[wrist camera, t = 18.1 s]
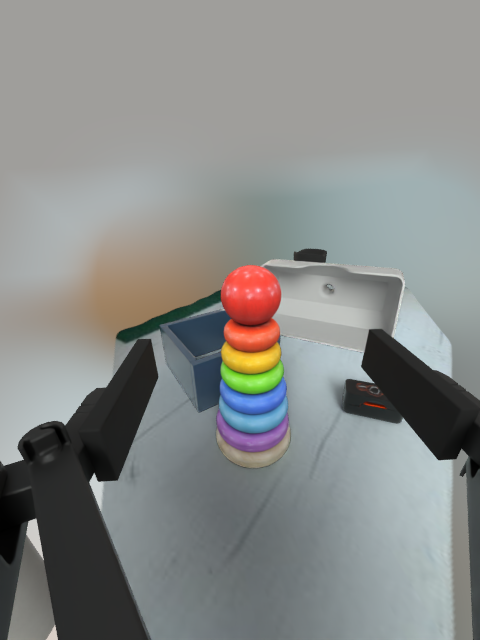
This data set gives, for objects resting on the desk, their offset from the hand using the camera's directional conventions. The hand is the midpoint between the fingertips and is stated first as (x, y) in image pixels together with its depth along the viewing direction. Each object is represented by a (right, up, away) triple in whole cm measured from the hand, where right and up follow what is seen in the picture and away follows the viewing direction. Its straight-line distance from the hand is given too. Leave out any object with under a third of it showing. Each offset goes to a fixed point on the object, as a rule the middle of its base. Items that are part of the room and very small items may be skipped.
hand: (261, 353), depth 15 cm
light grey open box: (+16, +1, +37) cm, 41 cm away
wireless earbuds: (+15, -9, +16) cm, 24 cm away
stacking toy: (0, -11, +12) cm, 17 cm away
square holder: (-4, -6, +24) cm, 25 cm away
